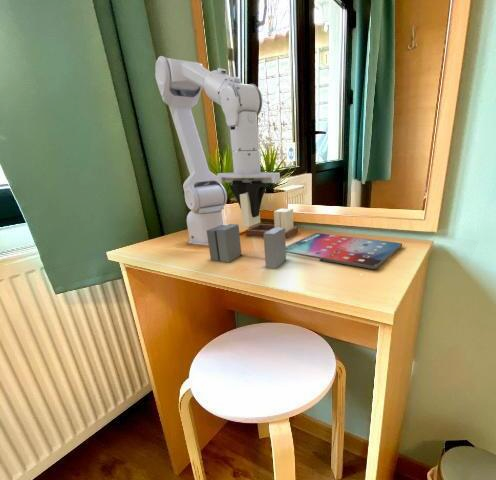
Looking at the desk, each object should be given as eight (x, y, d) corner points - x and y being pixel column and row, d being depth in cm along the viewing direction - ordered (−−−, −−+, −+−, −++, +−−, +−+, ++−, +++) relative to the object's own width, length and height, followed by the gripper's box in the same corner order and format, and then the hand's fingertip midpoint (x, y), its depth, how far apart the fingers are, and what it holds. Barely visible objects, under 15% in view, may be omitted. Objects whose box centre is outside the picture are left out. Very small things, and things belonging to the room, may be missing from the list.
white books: (274, 235, 87) (273, 211, 85) (282, 231, 92) (281, 208, 89) (286, 236, 86) (285, 212, 83) (293, 232, 90) (293, 208, 87)
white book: (242, 226, 68) (239, 194, 65) (253, 221, 72) (251, 191, 69) (249, 227, 67) (246, 194, 64) (260, 222, 71) (258, 191, 68)
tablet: (316, 234, 89) (316, 232, 89) (403, 246, 75) (403, 243, 75) (277, 252, 75) (277, 249, 74) (376, 271, 61) (376, 267, 61)
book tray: (246, 237, 90) (245, 230, 89) (259, 230, 96) (259, 223, 96) (286, 240, 85) (286, 233, 84) (298, 233, 91) (297, 226, 91)
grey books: (210, 260, 71) (206, 228, 68) (224, 253, 76) (220, 223, 73) (275, 268, 65) (273, 234, 62) (286, 260, 69) (285, 227, 66)
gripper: (205, 152, 63) (214, 217, 68) (267, 150, 57) (271, 221, 62) (225, 151, 69) (231, 211, 74) (283, 149, 63) (285, 214, 68)
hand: (250, 215), depth 69 cm, fingers closed on white book, 2 cm apart
